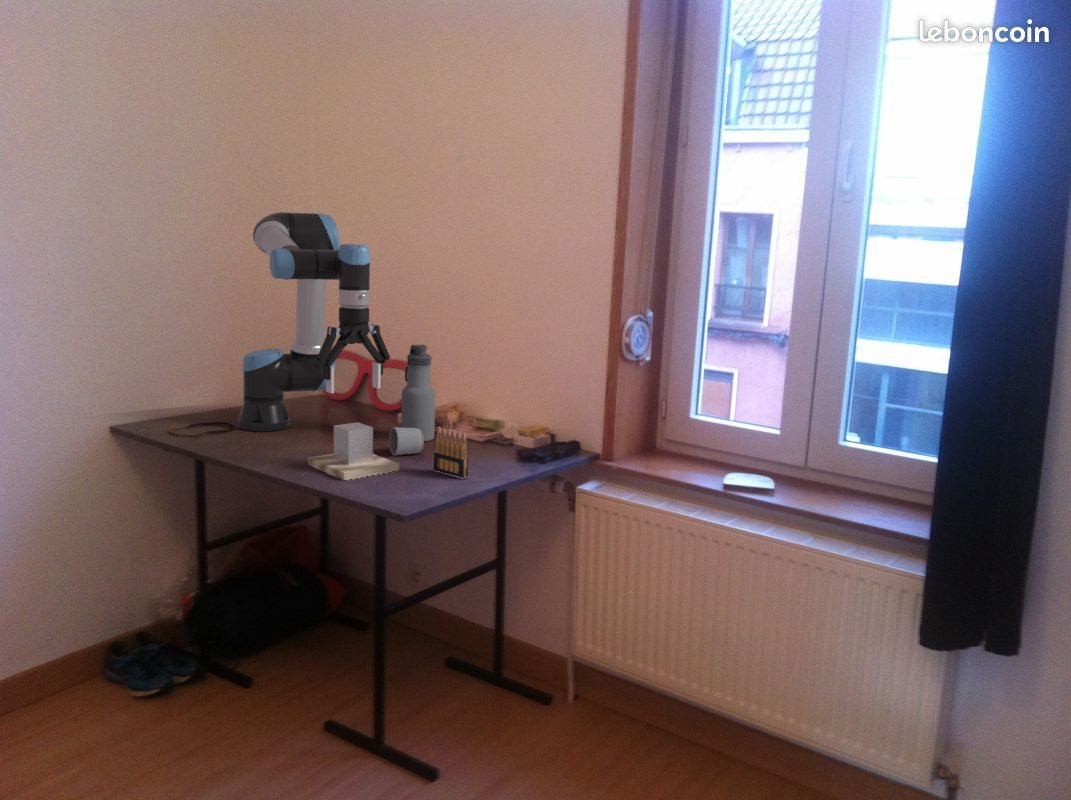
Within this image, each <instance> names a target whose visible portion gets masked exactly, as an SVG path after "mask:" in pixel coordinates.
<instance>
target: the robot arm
mask: <svg viewBox="0 0 1071 800" xmlns="http://www.w3.org/2000/svg"><path fill="white" fill-rule="evenodd" d="M252 233H253V234H252V237H253V242H254V244H255V246H256V247H257V248H258V249H259V250H260V251H261V252H262V253H263V254H265V255H268V256H269V270H270V275H271V277H272V278H274V279H276V280H277V279H280V280H287V281H288V280H296V311H295V313H296V316H295V318H296V319H295V342H294V343H293V344H292V345H291V346H290V351H289V353H285V352H284V350H283V349H282V348H265V349H259V350H258V349H257V350H255V351H254V350H253V351H250V352H248V353H246V354H245V355H244V357H243V360H242V369H241V370H242V375H243V381H242V386H243V389H242V391H243V403H242V406H241V409H240V412H239V415H238V418H237V428H238V429H241V430H244V431H249V432H274V431H281V430H285V429H289V427H290V425H291V424H290V417H289V413H288V410H287V408H286V404H285V401H284V393H285V392H286V393H287V392H290V393H291V392H317V391H325V392H327V393H329V394H334V393H335V373H336V372H335V370H336V364H335V363H336V360H337V359H338V358H339V355H341V353H342V352H343V350H344V349H345V347H347V346H348V345H354V344H362V345H363V346H364V347H365V349H366V351H368V353H369V354H370V356H371V357H372V358H373V360H374V361H373V362H372V373H371V374H372V379H371V380H372V383H371V384H372V388H374V389H381V383H382V382H381V379H382V375H383V374H384V364H385V363H386V362H387V361H389V360H390V359H391V356H390V354H389V351H388V349H387V346H386V344H385V342H384V339H383V337H382V334H381V327H380V325H379V324H373V323H372V324H370V325H369V323H370V309H369V307H368V306H369V305H370V276H371V275H370V273H371V272H370V271H371V268H370V267H371V255H370V247H369V246H368V245H367V244H359V243H357V244H356V243H342V244H340V236H339V229H338V226H337V223H336V221H335V219H334V217H333V216H331V215H329V214H325V213H323V214H322V213H316V212H315V213H312V212H311V213H309V212H307V213H306V212H286V211H285V212H283V211H281V212H275V213H271V214H268V215H266V216H264V217H263V218H261V219H260V220H258V222H257V223H256V224H255V226H254V229H253V232H252ZM329 280H330V281H331V280H332V281H333V280H337V281H338V305H339V306H340V307H338V322H339V325H338V327H334V326H327V331H326V314H327V313H326V310H327V309H326V307H327V281H329ZM326 332H327V333H326ZM369 333H370V334H371V337H372V340H373V342H374V343H375V344H373V342H372V340H371V339H370V337H369V336H368V334H369ZM338 335H339V337H338V338H337V336H338ZM336 338H337V340H336ZM335 342H336V343H335ZM334 343H335V344H334Z"/></svg>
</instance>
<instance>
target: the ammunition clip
mask: <svg viewBox="0 0 1071 800" xmlns="http://www.w3.org/2000/svg"><path fill="white" fill-rule="evenodd" d="M441 429H442V430H441ZM436 431H437V432H436V439H435V452H433V467H432V468H433V469H432V470H436V471H440V472H443V473H447V474H451V475H455V476H459V477H463V478H464V477H466V476H468V477H469V459H468V458H467V457H468V456H467V454H468V447H467V436H466V432H463V433H462V435H461V432H460V430H458V431H457V433H456V430H455V429H453V430H452V432H451V429H450V428H448V429H447V431H446V428H445V427H443V428H441V427H440V426H438V427H437V430H436Z"/></svg>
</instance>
